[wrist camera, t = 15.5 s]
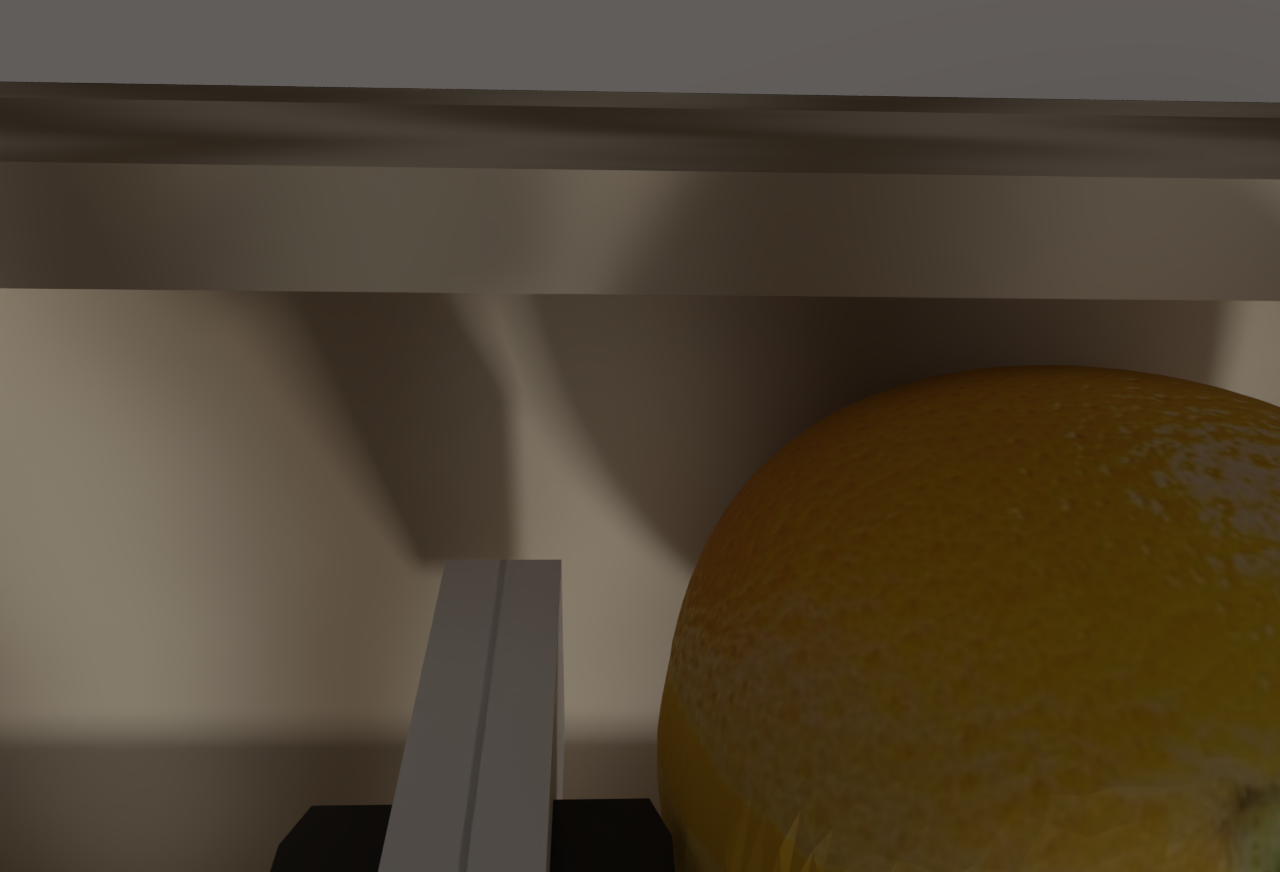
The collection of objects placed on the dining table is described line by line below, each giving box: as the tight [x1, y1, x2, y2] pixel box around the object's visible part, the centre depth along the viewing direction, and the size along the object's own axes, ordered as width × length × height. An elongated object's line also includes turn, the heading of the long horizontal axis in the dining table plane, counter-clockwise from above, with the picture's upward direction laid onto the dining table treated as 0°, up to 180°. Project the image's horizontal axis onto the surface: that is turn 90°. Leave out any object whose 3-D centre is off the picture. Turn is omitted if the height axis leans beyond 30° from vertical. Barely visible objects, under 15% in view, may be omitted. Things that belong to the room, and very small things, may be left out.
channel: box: [0, 82, 1280, 872], centre depth 14 cm, size 26×13×6 cm, turn 89°
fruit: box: [657, 365, 1280, 872], centre depth 12 cm, size 9×8×8 cm
